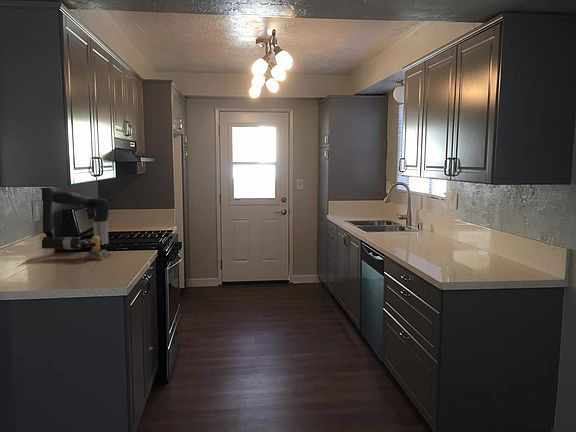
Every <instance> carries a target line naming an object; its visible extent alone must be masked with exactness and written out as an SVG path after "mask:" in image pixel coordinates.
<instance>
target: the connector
mask: <svg viewBox="0 0 576 432" xmlns="http://www.w3.org/2000/svg"><path fill="white" fill-rule="evenodd" d="M91 239H92V243H96V246H95V247H91V248H92V249H91V250H92V252H100V250H101V246H100V238H99V237H98V236H95V237H94V236H91Z"/></svg>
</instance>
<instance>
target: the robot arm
mask: <svg viewBox="0 0 576 432" xmlns="http://www.w3.org/2000/svg"><path fill="white" fill-rule="evenodd" d="M41 189H42V201H43V233H45V234H46V236H47V237H44V238H43V237H42V238H43V240H42V248H41V249H43V250H45V249H59V250H60V249H61V250H64V249H66V250H81V248H84V249H87V248H89V247H90V248H92V247H95V246H96V243H92V238H91V239H82V238H81V236H80V237H79V236H68V237H67V236H66V237H65V236H64V237H63V236H62V237H55V236H54V233H53V230H52V229H53V228H52V210H53V209H52V208H53V207H52V206H53V203H55V204H59V205H64V206H68V207H74V208H85V209H88V210H92V211H94V212H96V215H95V216H93V218H92V219H93V220H92V221H93V222H92V223H93V237H95V236H98V237H99V238H100V245H104V244H108V245H109V231H108V230H109V229H108V224H109V223H108V218H109V202H108V201H107V199H106V198H99V197H87V196H84V195H82V194H80V193H77V192H73V191H65V190H54V189H53V188H52V187H51V188H41ZM42 201H41V202H42Z"/></svg>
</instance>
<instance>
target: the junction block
mask: <svg viewBox="0 0 576 432" xmlns="http://www.w3.org/2000/svg"><path fill="white" fill-rule="evenodd" d="M85 254H86V256H84V257H82V258H81V261H103V260H104V259H106V258H108V257H110V256H111V255H112V254H111V252H110V253H108V252H107V249H100V252H92V249H91V250H89V251H87V252H86V253H85Z"/></svg>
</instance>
